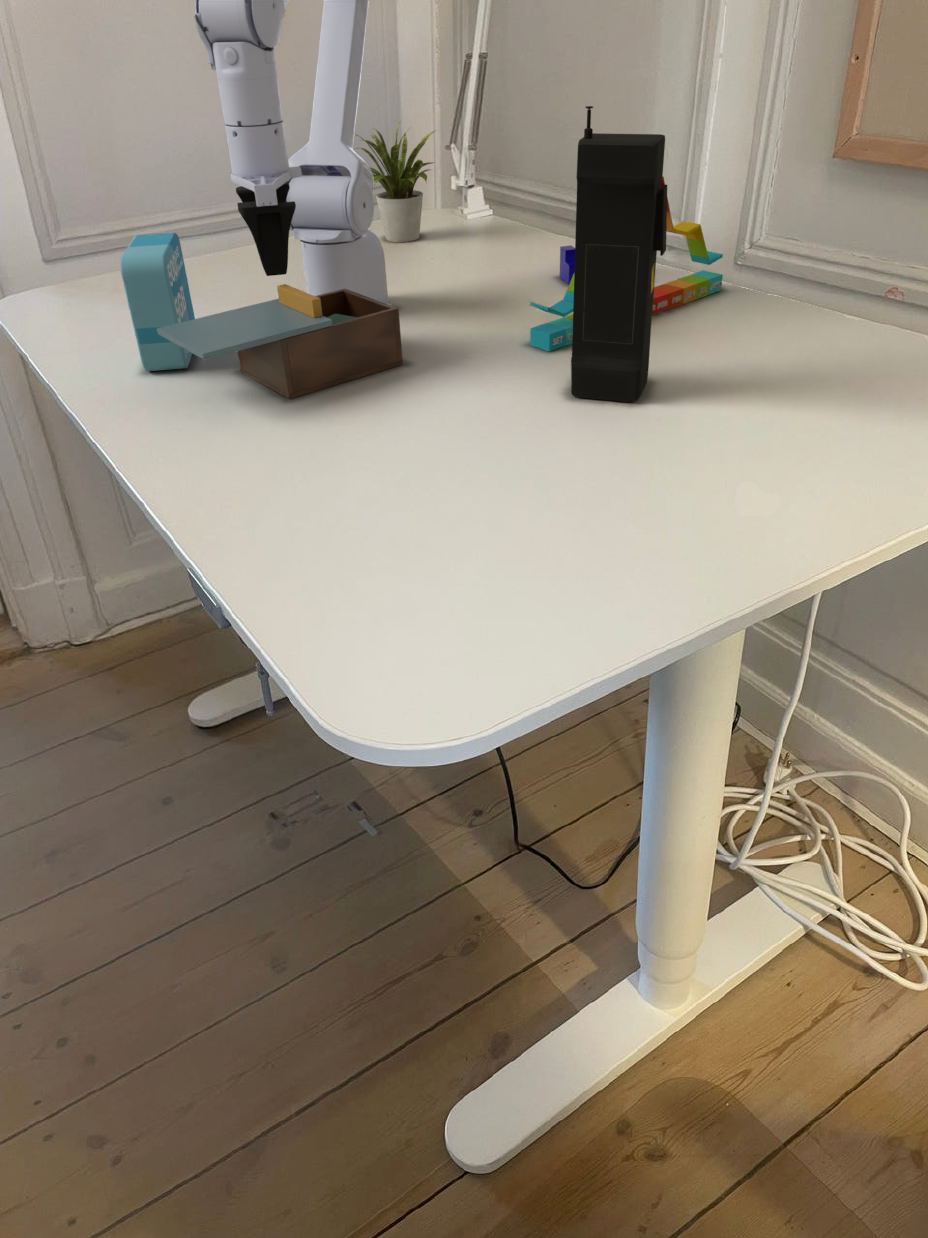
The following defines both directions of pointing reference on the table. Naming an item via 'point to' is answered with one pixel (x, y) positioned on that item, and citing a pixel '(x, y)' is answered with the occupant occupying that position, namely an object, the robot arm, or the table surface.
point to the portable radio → (616, 261)
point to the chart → (663, 298)
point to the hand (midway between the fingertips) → (274, 264)
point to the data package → (157, 297)
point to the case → (329, 348)
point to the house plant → (398, 188)
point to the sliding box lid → (249, 325)
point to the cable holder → (567, 263)
